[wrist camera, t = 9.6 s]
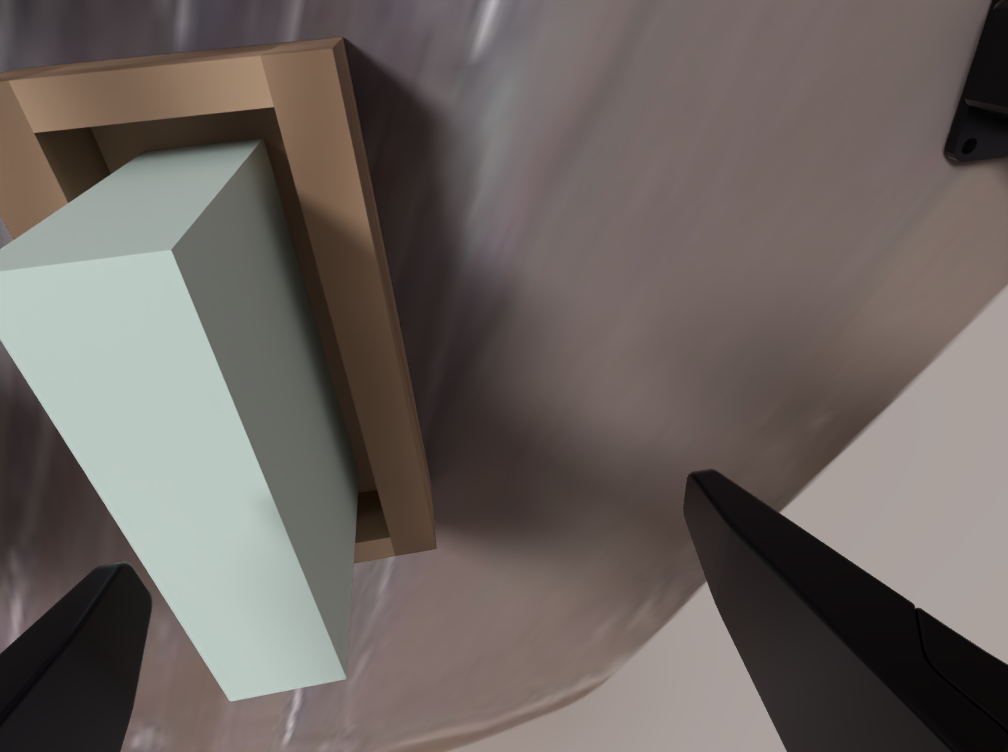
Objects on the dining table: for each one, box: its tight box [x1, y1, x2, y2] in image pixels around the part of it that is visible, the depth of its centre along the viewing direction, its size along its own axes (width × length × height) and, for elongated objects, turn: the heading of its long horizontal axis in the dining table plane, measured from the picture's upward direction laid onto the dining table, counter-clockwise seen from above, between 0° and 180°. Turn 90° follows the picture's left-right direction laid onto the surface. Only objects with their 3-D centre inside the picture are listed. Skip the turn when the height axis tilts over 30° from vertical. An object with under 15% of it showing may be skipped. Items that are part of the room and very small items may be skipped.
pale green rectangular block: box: [0, 138, 359, 702], centre depth 16 cm, size 3×12×8 cm, turn 4°
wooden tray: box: [0, 37, 437, 563], centre depth 18 cm, size 8×16×4 cm, turn 4°
